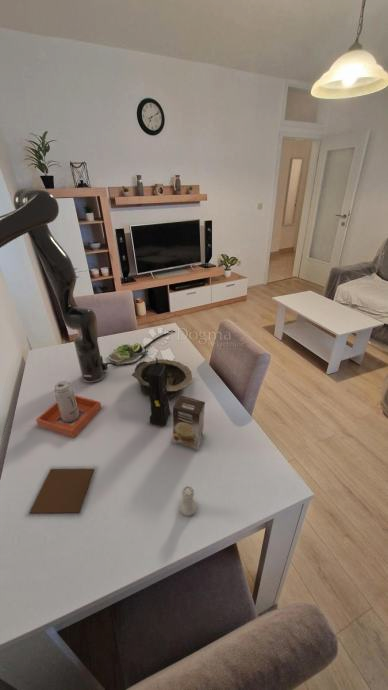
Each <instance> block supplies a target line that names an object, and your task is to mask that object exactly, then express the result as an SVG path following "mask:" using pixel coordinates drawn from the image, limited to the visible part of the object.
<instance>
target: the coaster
mask: <svg viewBox="0 0 388 690" xmlns="http://www.w3.org/2000/svg"><path fill="white" fill-rule="evenodd" d="M94 471H95V469H94V468H51V469H49V472H48V473H47V476H46V478H45V480H44V482H43V484H42V486H41V488H40V490H39V492H38V494H37V495H36V498H35V500H34V503H33V505H32V507H31V508H30V511H29V512H28V513H29V514H80V512H81V510H82V507H83V503H84V500H85V498H86V494H87V491H88V488H89V485H90V482H91V480H92V476H93V474H94Z"/></svg>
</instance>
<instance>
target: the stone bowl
mask: <svg viewBox="0 0 388 690" xmlns="http://www.w3.org/2000/svg"><path fill="white" fill-rule="evenodd" d="M157 362H158V364H163V365H165V367H166V376H167V386H166V387H167V393H168V399H170V398H172V397H174V396H176V395H177V394H178V393H179V392H180V391H181V390H182V389H183V388H185V387H187V386H188V385H190V384H191V382H192V381H193V380H194V378H193V374H192V371H191V369H190V368H189V367H188V366H187V365H184V364H183V363H181V362H180V361H176V360H169V359H163V358H161V359H159V358H158V359H157ZM151 364H156V359H154V360H149V361H145V360H143V361H140V362H139V363H138V364H136V366H135V368H134V372H133V373H131V377H133V378H134V379H136V380H137V381H138V383H139V384H140V389H141V392H142V393H143V395H146V396H150V390H149V382H148V381H146V372H147V371H148V369H149V368H150V366H151Z"/></svg>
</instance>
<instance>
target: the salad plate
mask: <svg viewBox="0 0 388 690" xmlns="http://www.w3.org/2000/svg"><path fill="white" fill-rule="evenodd" d="M148 352H149V350H146V348H145V349H144V346H142V345H141V344H140V343H139V342H138V343H137V342H136V343H134V344H130V343H124V344H119V345H117V346H116V348H114V349H113V350H112V351H110V352H109V353H108V354H107V357H108V360H110V361H112V363H116V365H115V366H119V365H126V364H133V363H135V362H137V361H138V360H140V359H141V358H142V357H143V356H145V355H146V354H147V353H148ZM131 356H132V357H131Z"/></svg>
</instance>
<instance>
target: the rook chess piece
mask: <svg viewBox="0 0 388 690" xmlns="http://www.w3.org/2000/svg"><path fill="white" fill-rule="evenodd" d="M181 496H182V499H181V501H180V503H179V512H180V513H181V514H182V515H184V516H187V517H188V516H189V517H190V516H192V515H193V514H195V513H196V510H197V504H196V501H195V500H194V496H195V490H194V488H193V487H192V486H191V485H189V486H188V485H185V486H184V487H183V488H182V490H181Z"/></svg>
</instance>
